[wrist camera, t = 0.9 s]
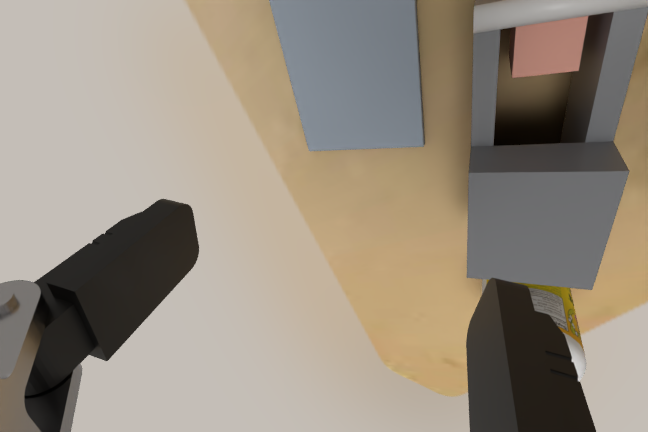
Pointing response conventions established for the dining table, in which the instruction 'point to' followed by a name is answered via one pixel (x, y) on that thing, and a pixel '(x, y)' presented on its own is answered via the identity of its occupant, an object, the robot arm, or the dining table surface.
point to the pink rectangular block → (547, 47)
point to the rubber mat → (353, 71)
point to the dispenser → (550, 151)
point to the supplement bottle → (559, 317)
